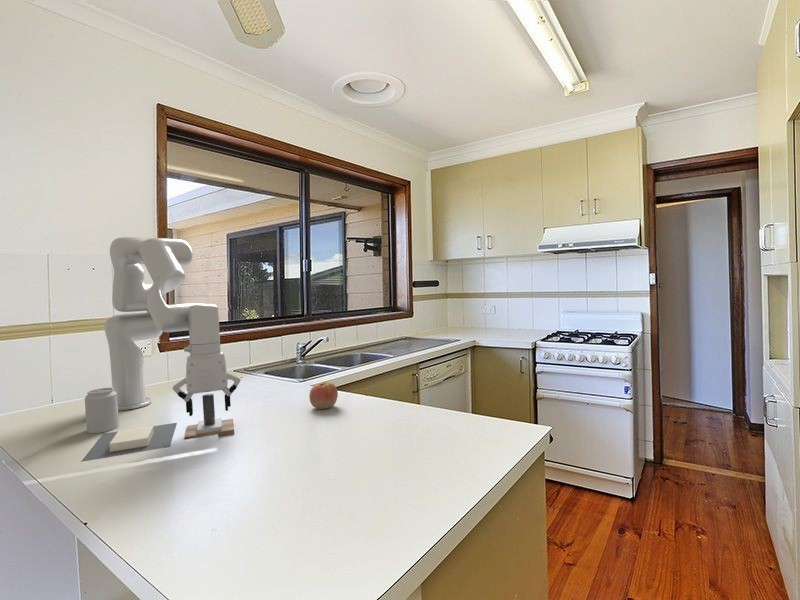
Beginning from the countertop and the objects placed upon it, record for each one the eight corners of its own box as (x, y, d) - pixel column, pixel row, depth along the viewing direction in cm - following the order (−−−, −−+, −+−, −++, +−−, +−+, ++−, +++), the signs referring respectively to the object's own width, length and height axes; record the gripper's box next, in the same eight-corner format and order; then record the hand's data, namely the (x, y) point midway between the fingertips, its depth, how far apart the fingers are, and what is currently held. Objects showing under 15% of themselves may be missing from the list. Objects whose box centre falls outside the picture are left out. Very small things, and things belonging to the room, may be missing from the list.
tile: (118, 430, 110) (109, 443, 101) (153, 425, 114) (147, 437, 104) (118, 438, 111) (109, 452, 101) (153, 433, 114) (148, 446, 105)
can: (102, 436, 115) (99, 393, 114) (80, 435, 116) (77, 393, 116) (125, 427, 122) (123, 386, 122) (104, 426, 124) (101, 386, 123)
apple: (342, 408, 133) (341, 383, 133) (316, 414, 128) (315, 388, 128) (330, 402, 140) (329, 378, 140) (305, 407, 135) (304, 382, 135)
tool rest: (187, 429, 118) (187, 425, 118) (233, 422, 123) (232, 418, 123) (184, 442, 109) (184, 437, 109) (234, 433, 114) (234, 429, 113)
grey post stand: (198, 424, 118) (196, 393, 118) (221, 421, 121) (219, 390, 120) (197, 434, 111) (195, 400, 110) (221, 430, 113) (219, 397, 113)
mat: (103, 436, 115) (103, 433, 115) (177, 425, 122) (177, 422, 122) (81, 464, 97) (81, 461, 97) (169, 449, 104) (169, 446, 104)
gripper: (167, 354, 108) (172, 421, 109) (240, 348, 115) (243, 410, 115) (170, 350, 115) (174, 413, 116) (238, 344, 122) (242, 403, 122)
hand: (209, 411), depth 115 cm, fingers open, 8 cm apart
